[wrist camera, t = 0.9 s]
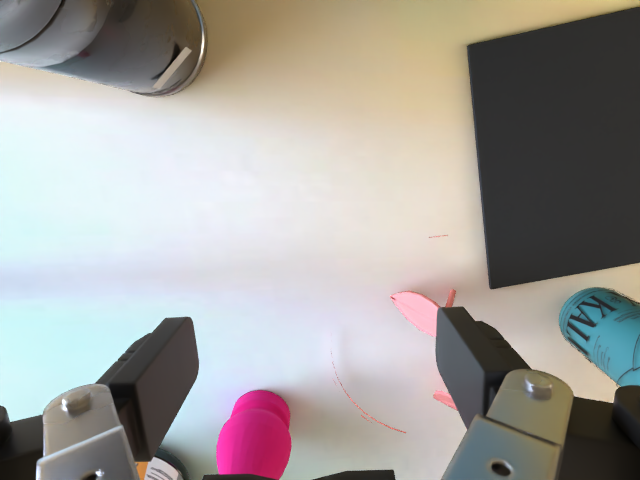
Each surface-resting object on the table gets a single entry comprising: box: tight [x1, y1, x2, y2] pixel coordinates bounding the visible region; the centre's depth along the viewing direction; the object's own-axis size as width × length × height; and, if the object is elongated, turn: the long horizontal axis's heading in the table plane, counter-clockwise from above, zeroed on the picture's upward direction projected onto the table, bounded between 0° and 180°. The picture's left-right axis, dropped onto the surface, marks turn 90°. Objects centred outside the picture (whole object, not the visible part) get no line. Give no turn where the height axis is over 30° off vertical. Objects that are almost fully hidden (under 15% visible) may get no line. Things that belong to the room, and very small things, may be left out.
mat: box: [467, 7, 640, 289], centre depth 33 cm, size 22×17×1 cm
